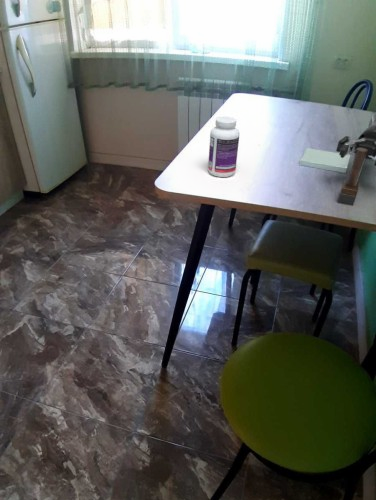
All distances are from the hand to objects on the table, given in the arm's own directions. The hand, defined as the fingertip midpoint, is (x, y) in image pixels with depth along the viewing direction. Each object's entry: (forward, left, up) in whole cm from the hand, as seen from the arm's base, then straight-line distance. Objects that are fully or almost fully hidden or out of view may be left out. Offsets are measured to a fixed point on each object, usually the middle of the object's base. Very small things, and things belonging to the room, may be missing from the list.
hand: (359, 157), depth 103 cm
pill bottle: (+36, -2, -11) cm, 38 cm away
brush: (0, 0, -11) cm, 11 cm away
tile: (+9, -25, -11) cm, 29 cm away
